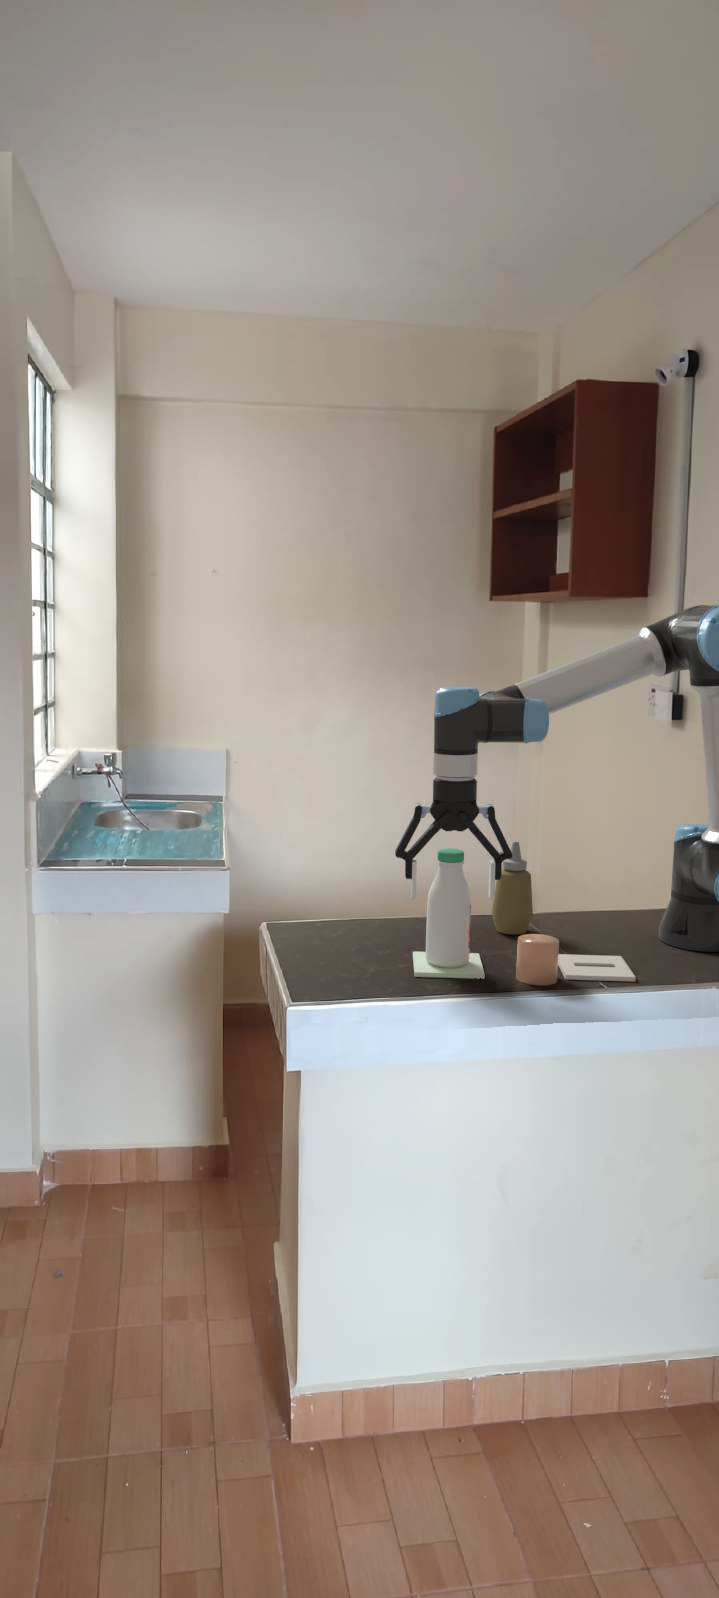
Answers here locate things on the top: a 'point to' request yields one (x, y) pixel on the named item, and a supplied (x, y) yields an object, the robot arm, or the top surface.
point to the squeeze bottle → (513, 895)
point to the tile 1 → (448, 968)
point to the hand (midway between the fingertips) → (452, 897)
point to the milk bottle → (448, 913)
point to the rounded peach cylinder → (537, 959)
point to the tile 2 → (594, 968)
